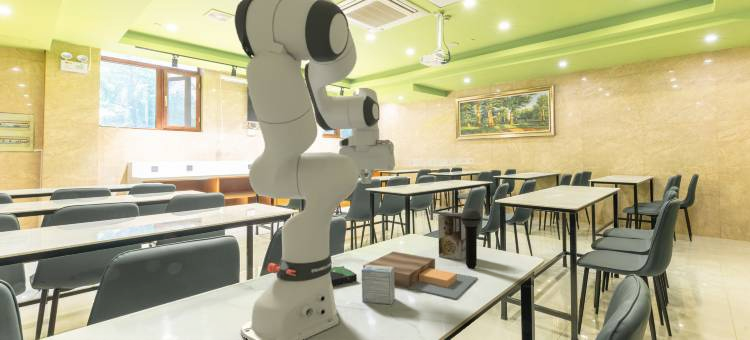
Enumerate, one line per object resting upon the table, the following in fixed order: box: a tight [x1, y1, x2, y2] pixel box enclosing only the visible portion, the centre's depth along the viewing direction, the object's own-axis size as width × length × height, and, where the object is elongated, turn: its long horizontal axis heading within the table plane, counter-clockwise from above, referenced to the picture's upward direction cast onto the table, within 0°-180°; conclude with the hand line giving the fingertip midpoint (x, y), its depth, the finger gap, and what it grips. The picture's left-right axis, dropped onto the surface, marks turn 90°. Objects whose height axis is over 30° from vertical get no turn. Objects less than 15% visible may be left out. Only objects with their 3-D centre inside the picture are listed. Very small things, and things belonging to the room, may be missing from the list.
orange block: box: [419, 268, 458, 287], centre depth 102 cm, size 7×9×2 cm
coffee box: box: [437, 211, 466, 261], centre depth 127 cm, size 9×6×16 cm
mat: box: [408, 273, 478, 300], centre depth 101 cm, size 18×14×1 cm
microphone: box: [461, 208, 482, 270], centre depth 114 cm, size 7×7×20 cm
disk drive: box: [330, 265, 358, 288], centre depth 104 cm, size 10×3×15 cm
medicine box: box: [361, 265, 396, 305], centre depth 90 cm, size 8×4×9 cm, turn 74°
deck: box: [362, 251, 436, 290], centre depth 109 cm, size 18×16×4 cm
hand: (366, 183), depth 110 cm, fingers closed
